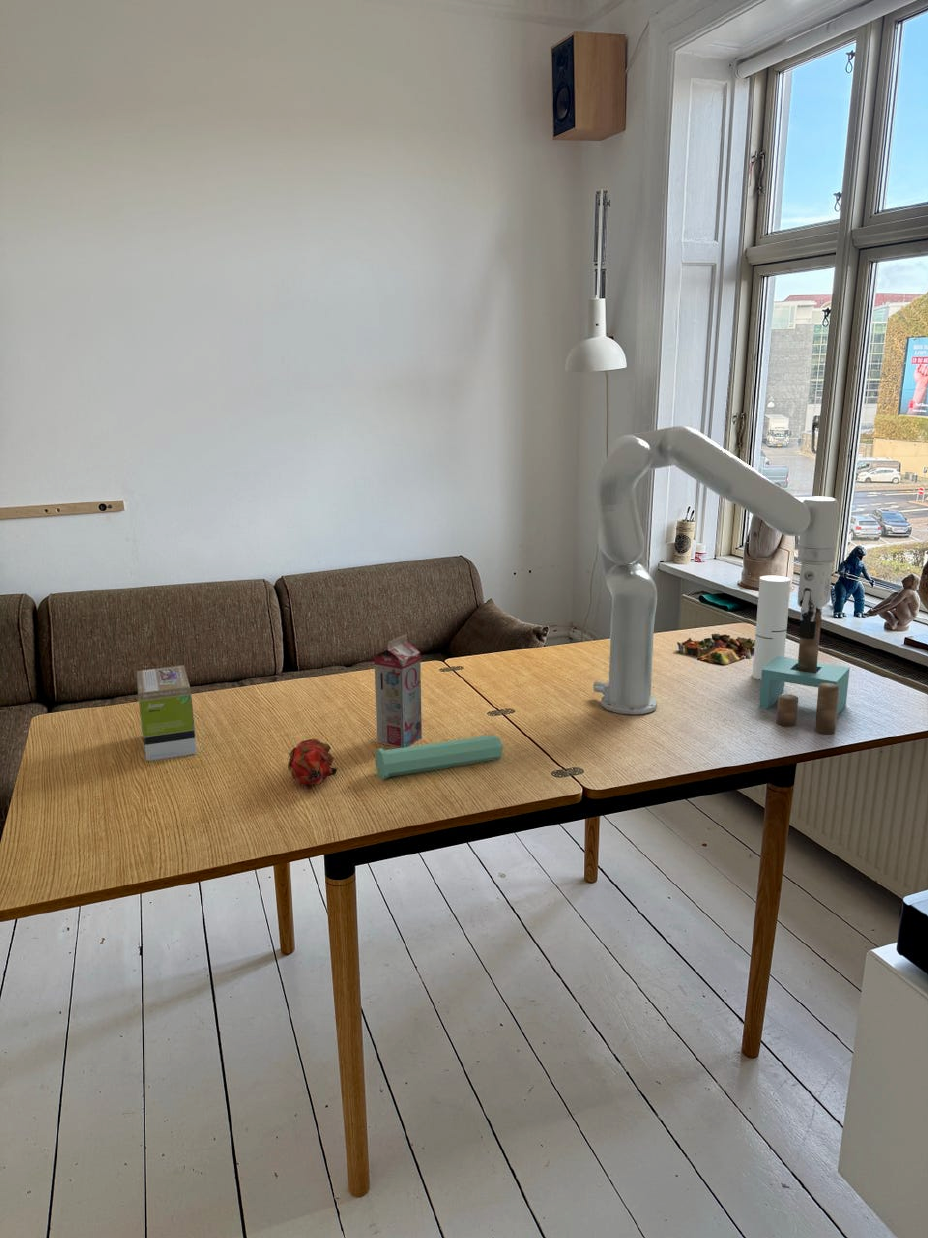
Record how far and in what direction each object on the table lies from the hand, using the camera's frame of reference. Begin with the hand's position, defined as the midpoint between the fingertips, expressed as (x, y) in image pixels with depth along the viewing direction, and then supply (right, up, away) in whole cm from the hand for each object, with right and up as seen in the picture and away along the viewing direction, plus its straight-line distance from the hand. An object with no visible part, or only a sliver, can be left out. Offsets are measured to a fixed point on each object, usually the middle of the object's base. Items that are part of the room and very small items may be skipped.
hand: (809, 634), depth 206 cm
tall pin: (0, -9, +2) cm, 10 cm away
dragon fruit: (-105, -27, -33) cm, 113 cm away
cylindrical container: (-1, -11, +25) cm, 27 cm away
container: (-81, -25, -27) cm, 89 cm away
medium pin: (-1, -20, -10) cm, 23 cm away
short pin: (-7, -19, -6) cm, 21 cm away
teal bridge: (0, -16, +4) cm, 17 cm away
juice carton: (-90, -22, -14) cm, 94 cm away
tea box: (-137, -23, -15) cm, 140 cm away
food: (-7, -6, +46) cm, 47 cm away
